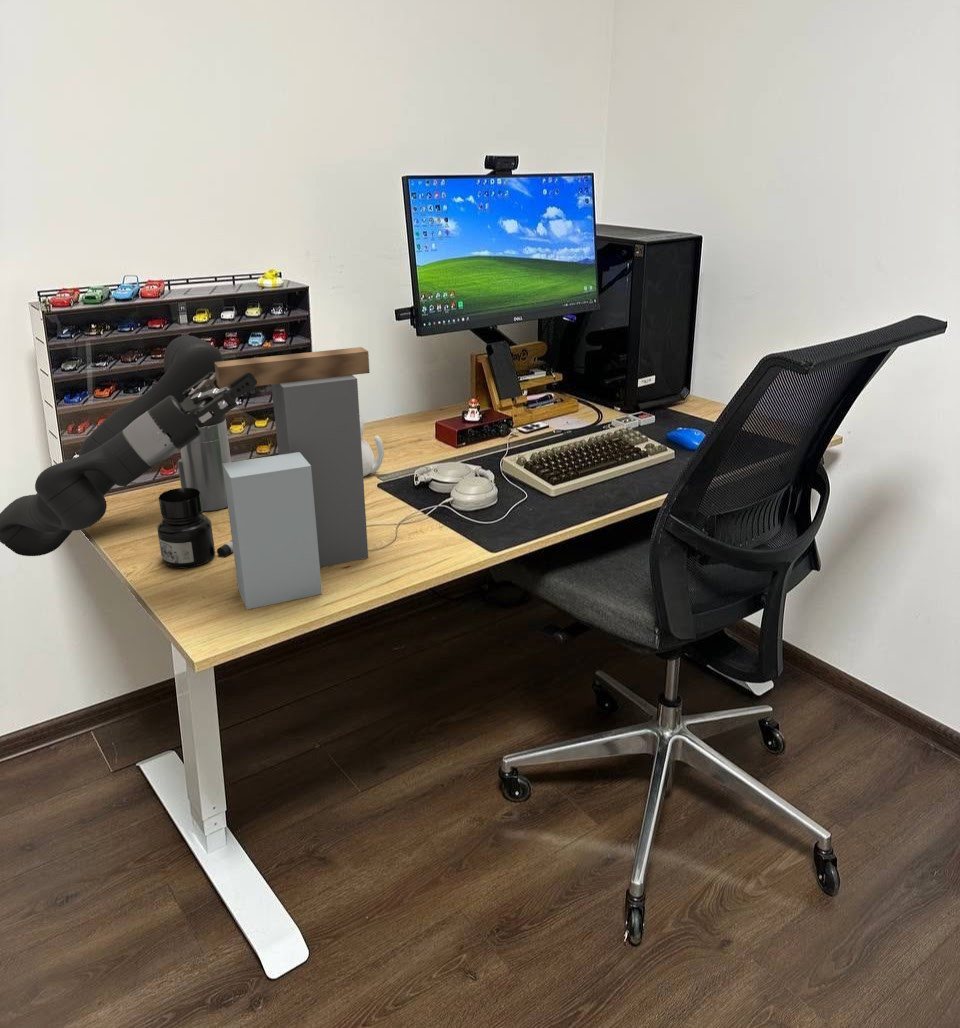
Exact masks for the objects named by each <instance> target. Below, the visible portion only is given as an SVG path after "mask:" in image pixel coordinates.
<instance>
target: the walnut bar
mask: <svg viewBox="0 0 960 1028" xmlns="http://www.w3.org/2000/svg"><path fill="white" fill-rule="evenodd" d="M369 356H370V355H369V351H368V349H365V348H364V347H362V346H358V347H350V348H349V347H348V348H341V349H340V348H339V349H330V350H329V349H328V350H319V351H312V352H311V351H310V352H301V353H290V354H281V355H270V356H261V357H260V356H259V357H251V358H242V359H233V360H230V359H229V360H224V361H221V362H214V365H215V373H216V381H217V385H218V387H219V388H220V389H221V388H224V387H226V386H229V387H230V385H229V384H231V383H232V382H233V381H235V380H236V379H238V378H239V377H241V376H242V375H243V374H245V373H246V372H250V373H251V374H252V375H253V376H254V378H255V379H256V380H257V384H256V385H255V386H254V387H259V386H260V387H262V386H269V385H271V384H279V383H288V382H296V381H305V380H314V379H322V378H331V377H340V376H348V375H353V376H355V375H364V374H370V359H369Z"/></svg>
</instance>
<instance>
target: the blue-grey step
mask: <svg viewBox="0 0 960 1028" xmlns="http://www.w3.org/2000/svg"><path fill="white" fill-rule="evenodd" d="M222 465H223V473H224V481H225V488H226V496H227V504H228V507H227V509H228V511H227V512H228V518H229V526H230V533H231V540H232V543H233V551H234V552H233V556H234V565H235V573H236V581H237V588H238V593H239V594H240V596H241V599H242V602H243V603H244V606H245V609H246V610H252V609H256V608H262V607H265V606H271V605H275V604H280V603H285V602H290V601H294V600H298V599H305V598H308V597H309V598H310V597H313V596H318V595H322V594H323V589H322V577H321V567H320V564H319V552H318V541H317V529H316V518H315V506H314V495H313V483H312V471H311V465H310V464H309V463H308V462H307V460H306V459H305V458H304V457H303V456H302V454H301V453H300V452H296V453H290V454H283V455H278V454H277V455H272V456H264V457H257V458H256V457H255V458H250V459H243V460H235V461H231V462H228V463H222Z"/></svg>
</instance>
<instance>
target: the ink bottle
mask: <svg viewBox="0 0 960 1028" xmlns="http://www.w3.org/2000/svg"><path fill="white" fill-rule="evenodd" d="M158 504H159V508H160V514H161V518H162V520H161V521H160V522H159V523H158V525H157V537H158V544H159V545H158V546H159V549H160V556H161V559H162V562H163V564H164V565H167V566H169V567H172V568H176V569H188V568H194V567H197V566H200V565H203V564H206V563H208V562H209V561H211V560H212V559H213V558H214V556H216V555H215V554H216V550H215V542H214V534H213V528H212V522H211V520H210V518H209V517H208V516H206V515H204V514H203V512H204V511H203V509H202V508H203V507H202V500H201V493H200V491H199V490H197V489H194V488H181V487H176V488H173V489H169V490H166V491H163V492H162V493H161V494H159V496H158Z"/></svg>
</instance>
